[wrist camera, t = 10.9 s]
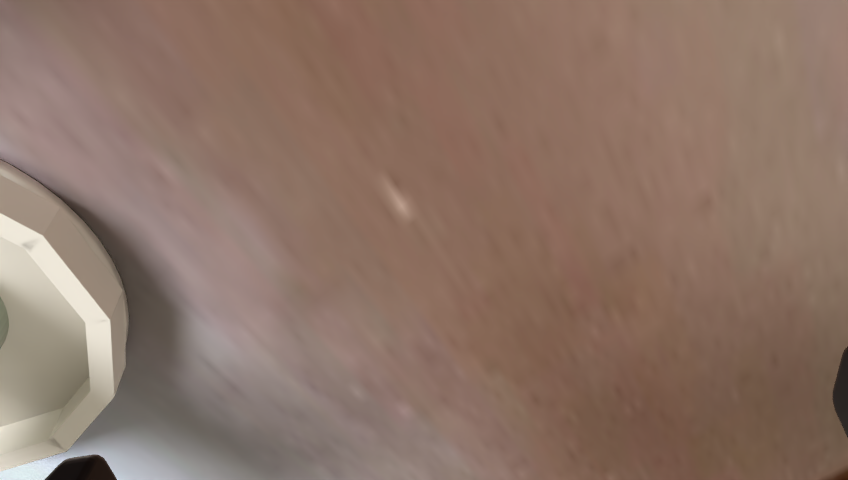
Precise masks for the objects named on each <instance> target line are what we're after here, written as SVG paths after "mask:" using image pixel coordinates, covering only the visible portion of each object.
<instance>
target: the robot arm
mask: <svg viewBox="0 0 848 480" xmlns="http://www.w3.org/2000/svg"><path fill="white" fill-rule="evenodd" d="M833 403H834V407H835V410H836V413H837V415H838V417H839V420H840V422H841V424H842V426H843V428H844V431H845V433H846V435H847V437H848V347H847V348H846V349H845V350H844V352H843V355H842V359H841V362H840V366H839V370H838V374H837V377H836V381H835V385H834V389H833ZM45 480H117V479H116V477H115V476H114V474H113V472H112V470H111V469H110V467H109V465H108V464H107V462H106V461H105V459H104V458H103V457H101V456H99V455H88V456H81V457H74V458H69V459H67V460H65V461H63V462H62V463H60V464H59V465H58V466H57V467H56V468H55V469H54V470H53V472H52V473H51V474H50V475H49V476H48V477H47V478H46V479H45Z"/></svg>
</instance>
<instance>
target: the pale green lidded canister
mask: <svg viewBox="0 0 848 480" xmlns="http://www.w3.org/2000/svg"><path fill="white" fill-rule="evenodd" d="M8 329H9V318H8V314H7V310H6V307H5V305H4V302H3V301H2V299H1V297H0V349H1V347H2V345H3V344H4V342H5V340H6V337H7V334H8Z"/></svg>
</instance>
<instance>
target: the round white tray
mask: <svg viewBox="0 0 848 480" xmlns="http://www.w3.org/2000/svg"><path fill="white" fill-rule="evenodd" d="M0 297H1V299H2V301H3V302H4V305H5V307H6V310H7V314H8V318H9V329H8V334H7V337H6V340H5V342H4V344H3V345H2V347H1V349H0V471H3V470H7V469H10V468H13V467H17V466H20V465H23V464H27V463H30V462H33V461H36V460H40V459H43V458H46V457H50V456H53V455H56V454H60V453H63V452H66V451H67V450H68V449H69V448H70V447H71V446H72V445H73V444H74V442H75V441H76V440H77V439H78V438H79V437H80V436H81V435H82V433H83V432H84V431H85V430H86V429H87V428H88V427H89V425H90V424H91V423H92V422H93V421H94V420H95V419H96V417H97V416H98V415H99V414H100V413H101V412H102V411H103V409H104V408H105V407H106V406H107V405H108V404H109V403H110V401H111V400H112V399H113V398H114V396H115V394H116V391H117V388H118V385H119V383H120V380H121V377H122V374H123V372H124V369H125V366H126V357H125V345H126V341H127V337H128V329H129V311H128V303H127V297H126V294H125V290H124V287H123V284H122V280H121V278H120V275H119V273H118V271H117V269H116V267H115V265H114V263H113V261H112V259H111V257H110V256H109V254H108V252H107V251H106V249H105V248H104V246H103V245H102V243H101V242H100V240H99V239H98V238H97V236H96V235H95V234H94V233H93V232H92V230H91V229H90V228H89V227H88V226H87V224H86V223H85V222H84V221H83V220H82V219H81V218H80V217H79V216H78V215H77V214H76V213H75V212H74V211H73V210H72V209H71V208H70V207H69V206H68V205H67V204H66V203H64V202H63V201H62V200H61V199H60V198H59V197H57V196H56V195H55V194H53V193H52V192H51V191H49V190H48V189H47V188H46V187H44V186H43V185H42V184H40V183H39V182H38V181H36V180H34V179H33V178H31V177H30V176H28V175H26V174H25V173H23V172H21V171H20V170H18V169H17V168H15V167H13V166H12V165H10V164H8V163H6V162H4V161H2V160H0Z"/></svg>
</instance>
